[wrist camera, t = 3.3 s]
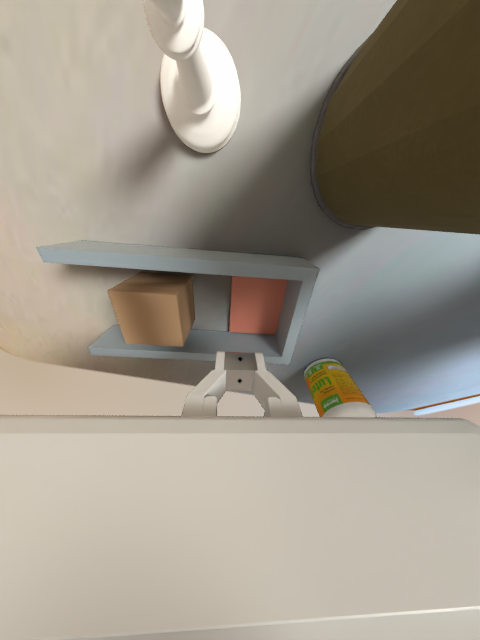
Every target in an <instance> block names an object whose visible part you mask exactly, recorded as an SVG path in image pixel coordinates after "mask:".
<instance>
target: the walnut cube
mask: <svg viewBox="0 0 480 640" xmlns="http://www.w3.org/2000/svg"><path fill="white" fill-rule="evenodd" d="M108 294H109V297H110V300H111V303H112V305H113V308H114V311H115V314H116V317H117V320H118V322H119V325H120V328H121V331H122V334H123V337H124V339H125V342H126V344H140V345H159V346H178V347H183V346H184V344H185V341H186V339H187V337H188V334H189V332H190V330H191V327H192V325H193V323H194V320H195V310H194V296H193V283H192V276H190V275H176V274H161V273H147V272H140V273H138V274H136V275H134V276H133V277H131V278H129V279H127V280H125V281H124V282H122V283H120V284H118V285H116V286H115V287H113V288H111V289H109V290H108Z"/></svg>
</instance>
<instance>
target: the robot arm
mask: <svg viewBox="0 0 480 640" xmlns="http://www.w3.org/2000/svg"><path fill="white" fill-rule="evenodd" d="M225 391H252V393H253V394H254V395H255V397H256V398H257V400H258V401H259V403H260V404H261V406H262V407H263V408H264V410H265V413H264V416H263V417H234V416H232V417H231V416H226V417H225V416H217V403H218V402H219V400H220V399H221V397H222V396H223V394H224V393H225ZM0 640H480V426H479V425H477V424H475V423H473V422H471V421H469V420H466V419H461V418H382V417H381V418H380V417H378V418H377V417H303V416H302V413H301V410H300V407H299V404H298V401H297V399H296V397H295V396H294V395H293V394H292V393H291V392H290V391H289V390H288V389H287V388H286V387H285V386H284V385H283V384H282V383H281V382H280V381H279V380H278V379H276V378H275V377H274V376H273V375H272V374H271V373H270V372H269V371H266V366H265V362H264V357H263V353H248V352H222V351H217V355H216V363H215V370H212V371H211V372H210V373H209V374H208V375H207V376H206V377H205V378H204V379H203V380H202V381H201V382H200V383H199V384H198V385H197V386H196V387H195V388H194V389H193V390H192V391H191V392H190V393H189V394H188V395H187V397H186V401H185V405H184V408H183V412H182V415H181V416H86V415H84V416H82V415H79V416H78V415H0Z"/></svg>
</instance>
